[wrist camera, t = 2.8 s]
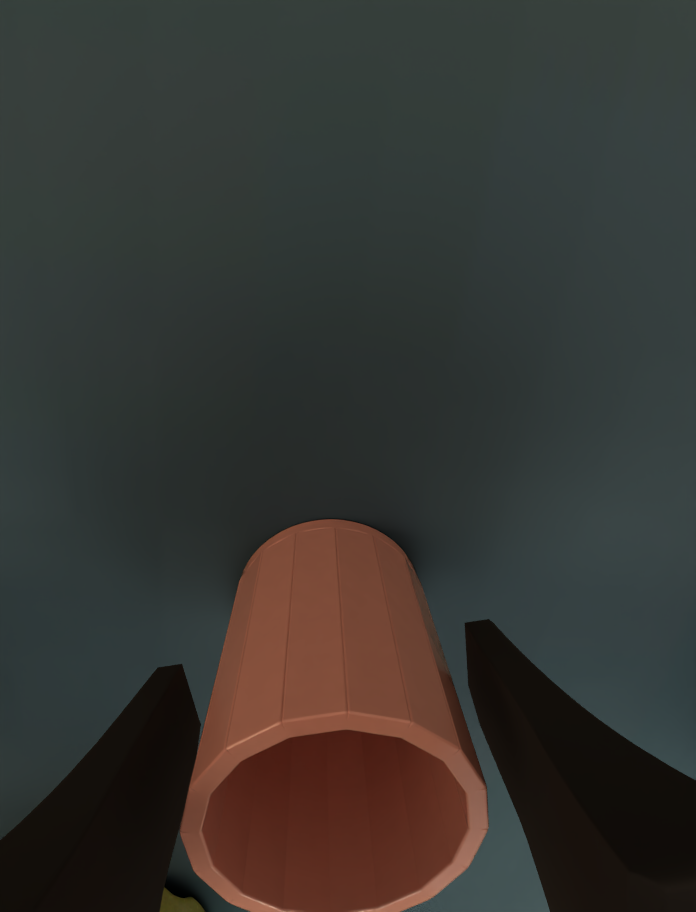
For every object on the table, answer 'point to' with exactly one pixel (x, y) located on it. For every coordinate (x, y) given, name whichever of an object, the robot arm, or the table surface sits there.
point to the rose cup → (333, 736)
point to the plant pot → (178, 903)
